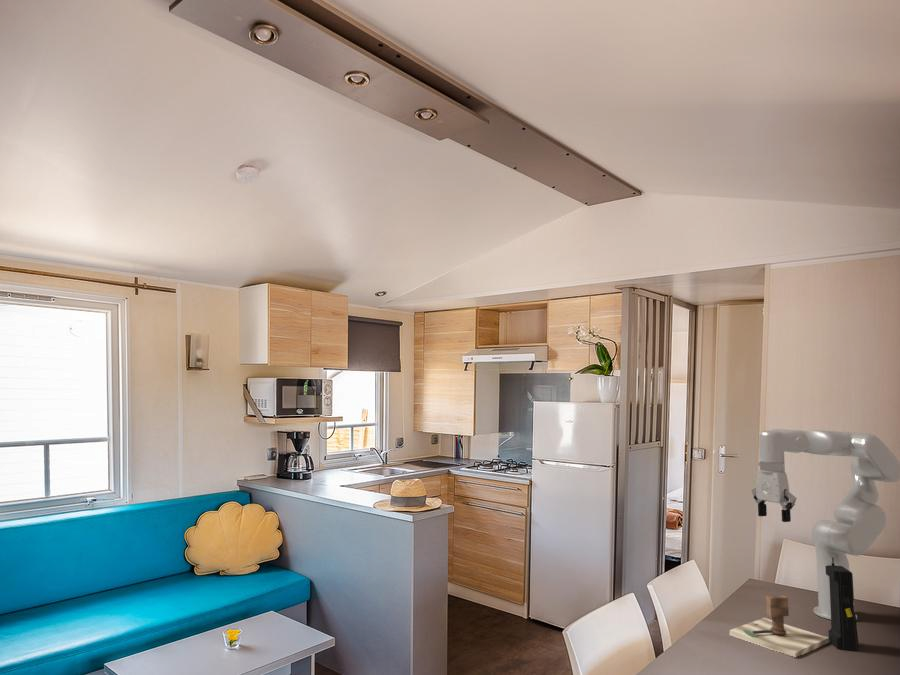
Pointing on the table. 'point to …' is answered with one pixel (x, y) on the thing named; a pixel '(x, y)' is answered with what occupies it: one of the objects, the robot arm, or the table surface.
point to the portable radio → (842, 608)
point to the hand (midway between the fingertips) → (774, 518)
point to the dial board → (780, 638)
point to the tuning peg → (776, 614)
